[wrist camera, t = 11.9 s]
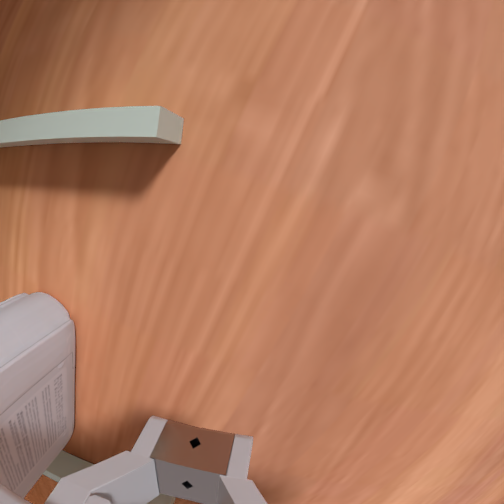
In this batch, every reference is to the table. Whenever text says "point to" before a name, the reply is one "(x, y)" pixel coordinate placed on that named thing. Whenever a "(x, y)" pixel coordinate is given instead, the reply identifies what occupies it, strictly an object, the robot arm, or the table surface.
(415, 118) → the table surface
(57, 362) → the photo printer
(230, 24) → the table surface
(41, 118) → the holder
